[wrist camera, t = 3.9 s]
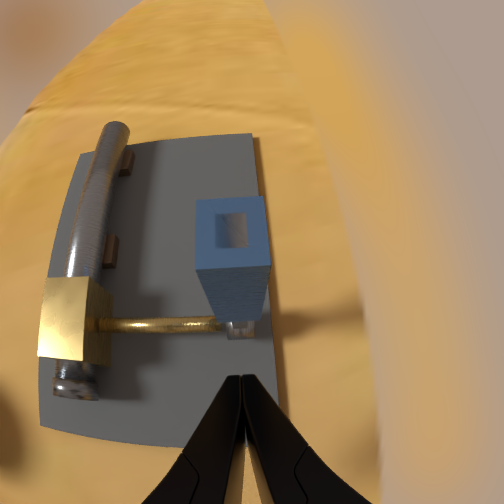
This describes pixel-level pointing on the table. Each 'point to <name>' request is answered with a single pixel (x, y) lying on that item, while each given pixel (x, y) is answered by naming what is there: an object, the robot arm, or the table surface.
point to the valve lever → (233, 260)
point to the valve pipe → (95, 282)
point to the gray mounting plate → (160, 297)
